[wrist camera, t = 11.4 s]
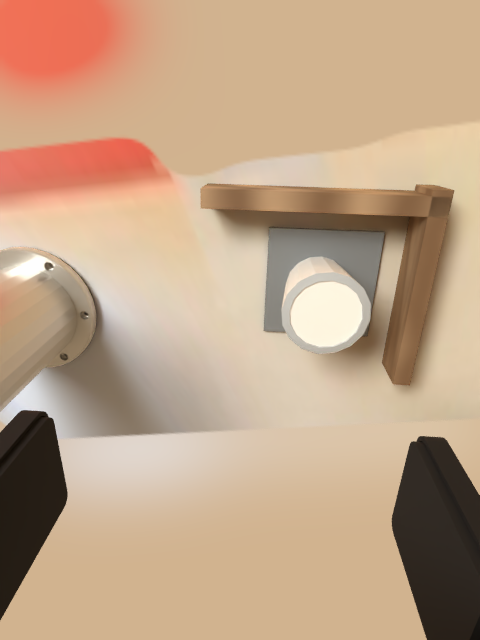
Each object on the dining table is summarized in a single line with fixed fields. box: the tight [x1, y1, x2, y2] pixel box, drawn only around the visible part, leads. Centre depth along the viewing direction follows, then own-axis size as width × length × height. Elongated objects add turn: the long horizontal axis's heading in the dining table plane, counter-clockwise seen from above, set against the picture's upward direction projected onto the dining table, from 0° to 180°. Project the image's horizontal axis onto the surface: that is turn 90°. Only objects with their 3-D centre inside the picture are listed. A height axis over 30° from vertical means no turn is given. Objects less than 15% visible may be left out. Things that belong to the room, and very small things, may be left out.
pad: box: [264, 227, 385, 336], centre depth 38 cm, size 10×10×1 cm
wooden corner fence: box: [201, 184, 454, 385], centre depth 36 cm, size 19×17×4 cm
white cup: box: [281, 256, 371, 354], centre depth 34 cm, size 7×7×7 cm
